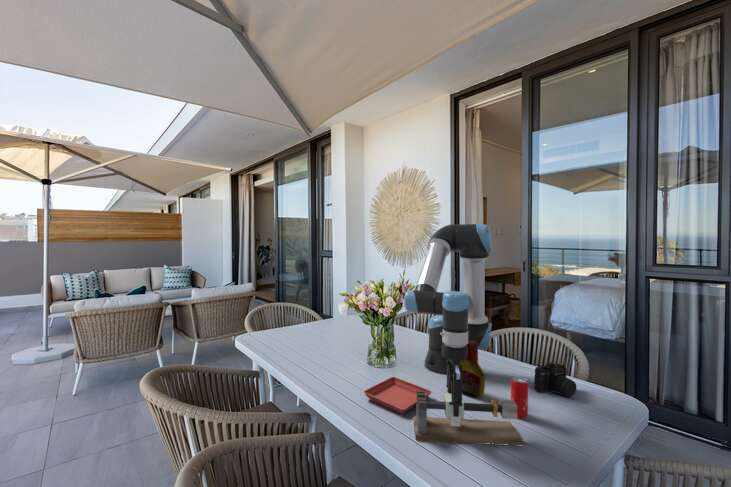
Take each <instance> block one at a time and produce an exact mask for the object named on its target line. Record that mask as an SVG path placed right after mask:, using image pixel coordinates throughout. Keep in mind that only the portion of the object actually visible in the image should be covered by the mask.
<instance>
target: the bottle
mask: <svg viewBox="0 0 731 487" xmlns="http://www.w3.org/2000/svg"><path fill="white" fill-rule="evenodd" d="M467 346H468V357H467V358H466V359H465V360H461V361H460V363H461V365H462V373H463V380H462V394H465V395H467V396H469V397H472V398H482V397H483V396H484V393H485V387H486V386H485V385H486V375H485V372H484V369H483V368H482V366H481V365H480V364H479V358H478V356H479V353H478V352H479V349H478V343H476V342H475V341H468V344H467Z"/></svg>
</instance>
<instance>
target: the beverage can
mask: <svg viewBox="0 0 731 487" xmlns="http://www.w3.org/2000/svg"><path fill="white" fill-rule="evenodd" d="M510 400H514V402H515V403H516V405H517V419H518V418H525V419H526V418H527V416H528V410H529V409H528V408H529V404H528V403H529V382H528V379H526V378H524V377H520V376H513V377H512V378H511V381H510Z"/></svg>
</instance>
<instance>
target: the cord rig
mask: <svg viewBox="0 0 731 487" xmlns="http://www.w3.org/2000/svg"><path fill="white" fill-rule="evenodd" d="M498 400H499V401H498V404H497V402H496V400H495V399H490V403H476V402H464V412H481V413H483V412H484V413H485V412H486V413H491V415H492V416H493V417H494V418H498V415H499V414H500V416H501V417H502V419H505V420H507V419H508V420H518V418H517V405H516V403H515V402H514V400H511V399H504V398H503V399H502V398H499V399H498ZM427 410H443V411H444V410H446V402H444V401H436V400H434V401H433V400H427V398H425V391H424V390H417V405H416V412H415V413H416V414H415V416H413V427H414V429H413V430H414V439H415V440H416V441H430V442H442V443H445V442H446V443H459V442H469V443H468V444H475V443H490V444H489V445H491V444H492V443H493V444H508V445H523V443H524V442H523V441H524V440H522V438H521V436H520V434H518V431H517V430H516V428H515V427H514V425H513V423H512V422H511V421H504V420H488V419H487V420H485V419H483V420H482V419H472V418H471V419H467V418H464V419H460V426H451V425H450V418H446V417H432V416H431V417H430V416H428V415H427V414H428V412H427ZM498 413H499V414H498ZM523 446H524V445H523Z"/></svg>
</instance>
